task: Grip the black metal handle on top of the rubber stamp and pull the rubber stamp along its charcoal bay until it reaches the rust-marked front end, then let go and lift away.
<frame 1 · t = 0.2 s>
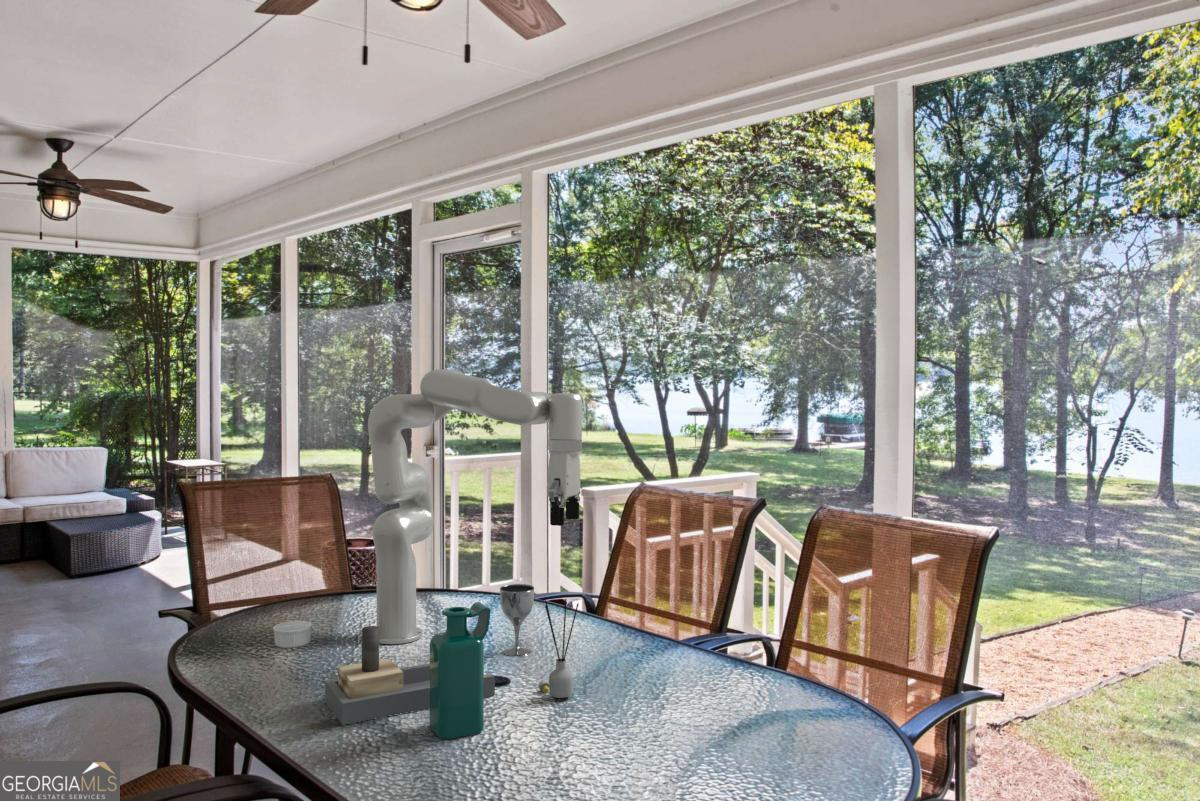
hand: (565, 522, 195), 31 cm above the table, tool pointing down, fingers open, 9 cm apart
bay: (410, 698, 169), on the table
reed diffuser: (555, 699, 170), on the table
wine glass: (516, 652, 199), on the table
rubber stamp: (370, 664, 165), point 8 cm above the table, slide at 0.0 cm
pitcher: (460, 729, 154), on the table
ramekin: (292, 644, 205), on the table
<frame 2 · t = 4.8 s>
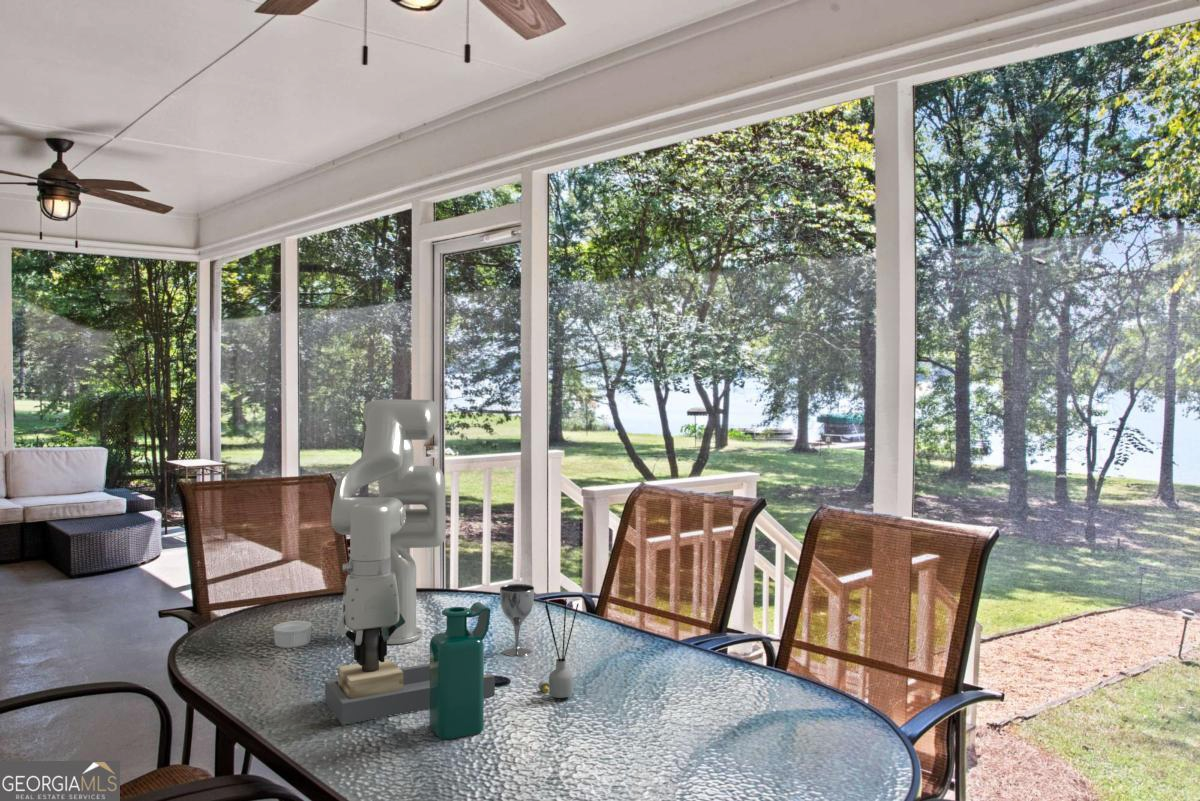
hand: (370, 661, 165), 9 cm above the table, tool pointing down, fingers closed on rubber stamp, 3 cm apart
rubber stamp: (370, 664, 165), point 8 cm above the table, slide at 0.0 cm, touching gripper
everything else where it was.
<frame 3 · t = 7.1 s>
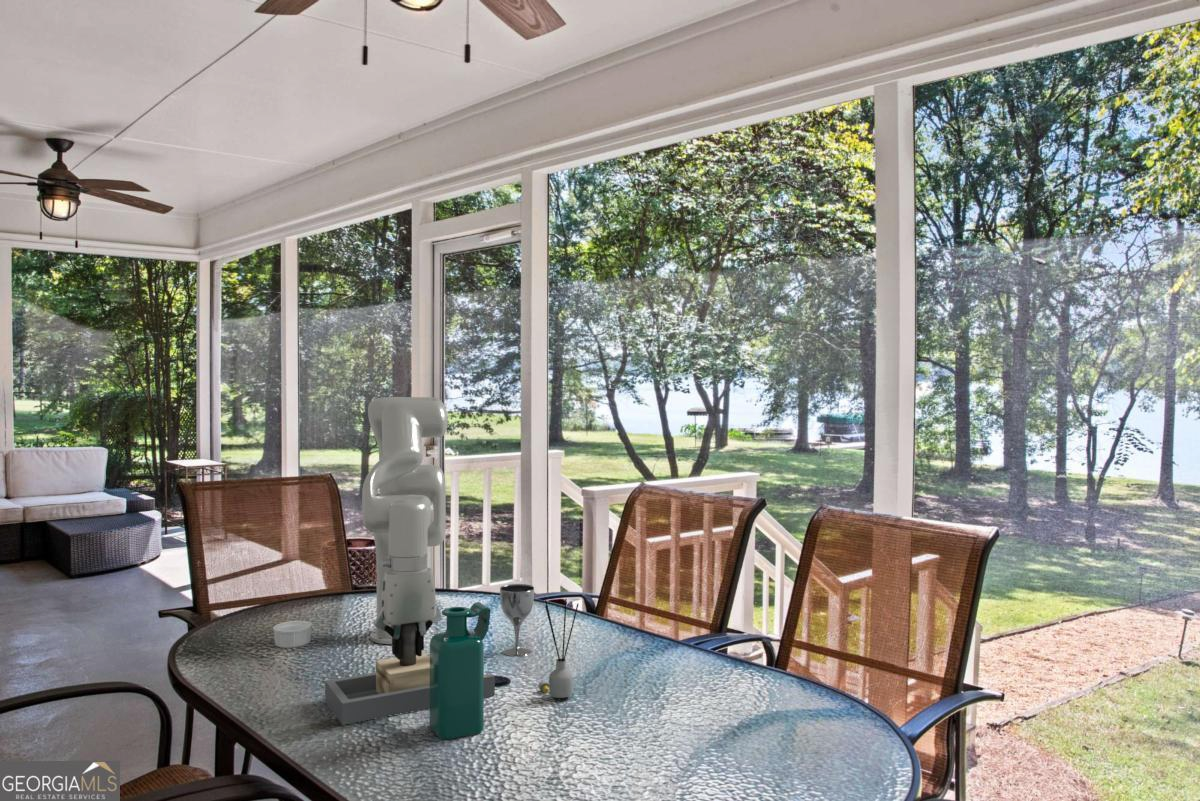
hand: (407, 655, 168), 9 cm above the table, tool pointing down, fingers closed on rubber stamp, 3 cm apart
rubber stamp: (407, 658, 168), point 8 cm above the table, slide at 7.4 cm, touching gripper
everything else where it was.
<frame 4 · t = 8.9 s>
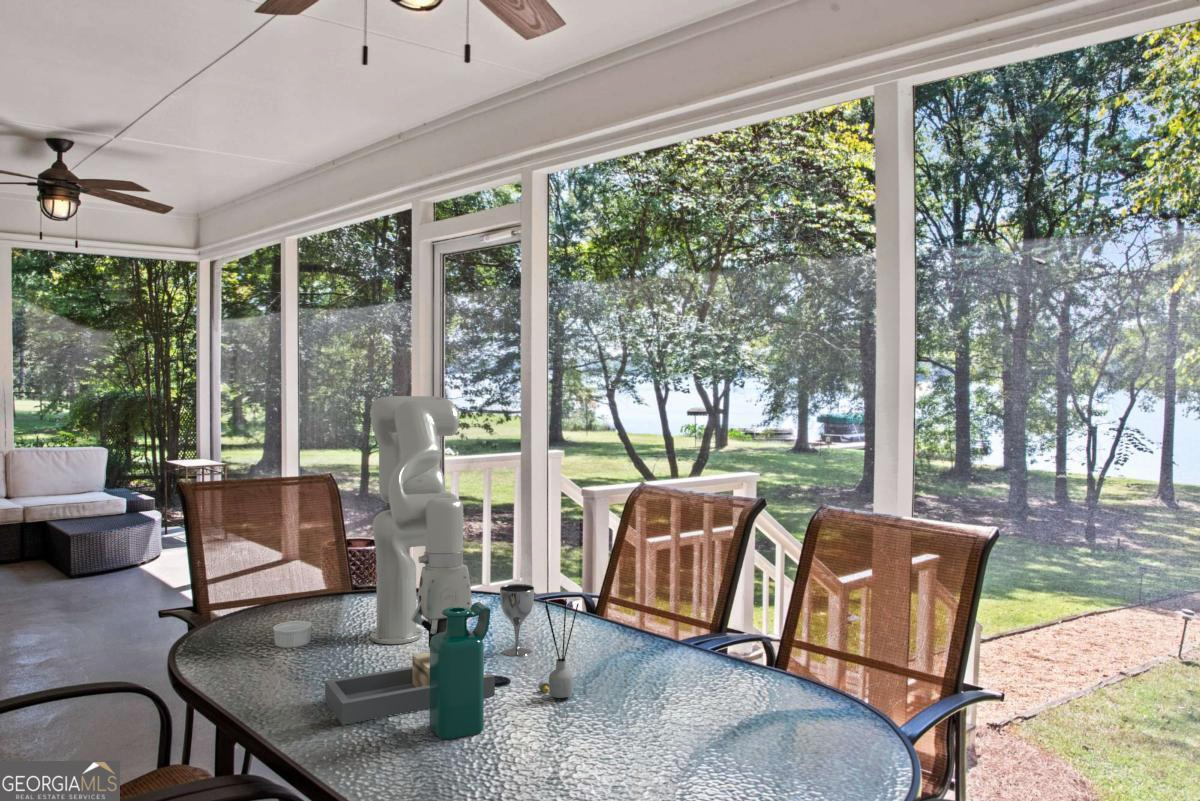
hand: (444, 649, 172), 9 cm above the table, tool pointing down, fingers closed on rubber stamp, 3 cm apart
rubber stamp: (444, 652, 172), point 8 cm above the table, slide at 14.9 cm, touching gripper
everything else where it was.
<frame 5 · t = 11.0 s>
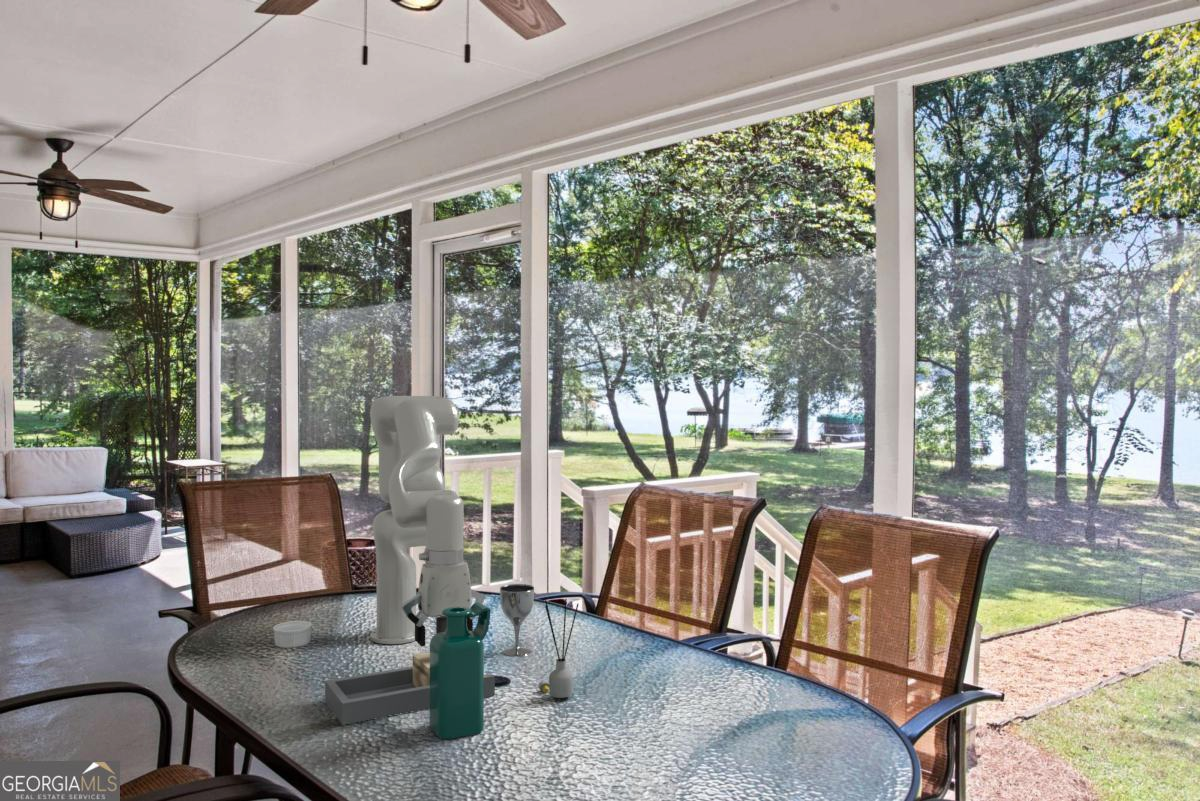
hand: (444, 640, 173), 10 cm above the table, tool pointing down, fingers open, 9 cm apart
rubber stamp: (444, 652, 172), point 8 cm above the table, slide at 15.0 cm
everything else where it was.
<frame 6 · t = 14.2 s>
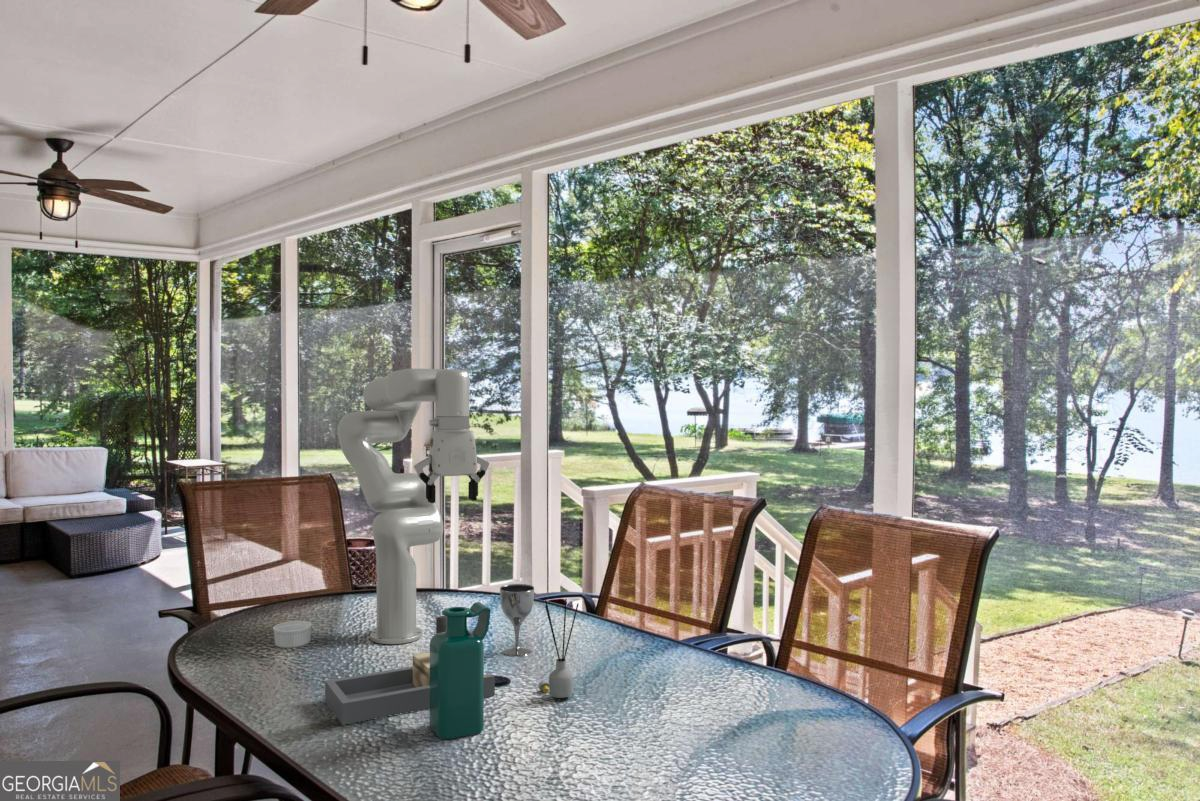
hand: (452, 501, 191), 36 cm above the table, tool pointing down, fingers open, 9 cm apart
nothing on the table moved.
at the end: rubber stamp slide at 15.0 cm; the gripper is holding nothing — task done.
